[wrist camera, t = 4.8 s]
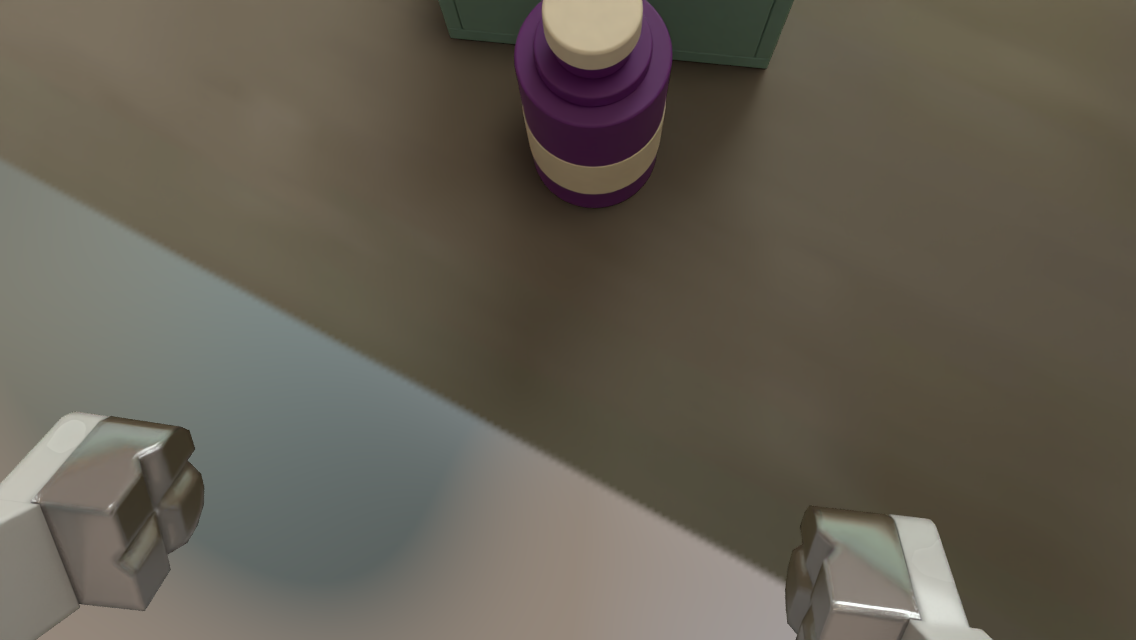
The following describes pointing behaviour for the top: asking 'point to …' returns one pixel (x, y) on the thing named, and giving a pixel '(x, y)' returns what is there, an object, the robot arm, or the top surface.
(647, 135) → the grape juice bottle
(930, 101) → the top surface
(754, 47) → the bin
